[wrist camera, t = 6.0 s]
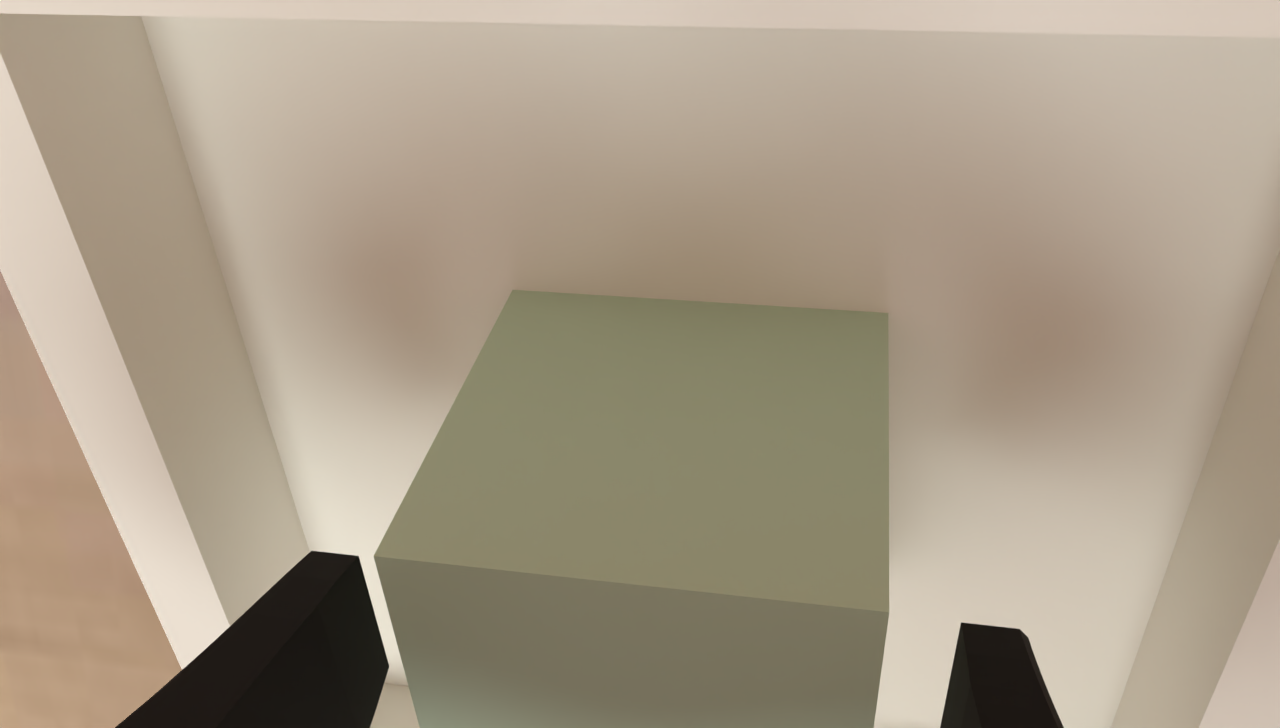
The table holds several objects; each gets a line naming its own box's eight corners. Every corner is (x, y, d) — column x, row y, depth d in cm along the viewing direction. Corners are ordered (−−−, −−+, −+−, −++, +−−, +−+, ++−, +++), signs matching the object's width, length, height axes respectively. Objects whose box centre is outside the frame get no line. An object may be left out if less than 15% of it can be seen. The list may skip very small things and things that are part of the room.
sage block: (888, 313, 14) (889, 612, 10) (858, 582, 17) (850, 897, 13) (512, 289, 15) (373, 555, 11) (547, 549, 18) (448, 834, 14)
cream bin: (1547, -195, 10) (1756, -122, 8) (1145, 795, 19) (1180, 965, 17) (23, -173, 13) (-175, -113, 10) (318, 685, 22) (250, 818, 20)
